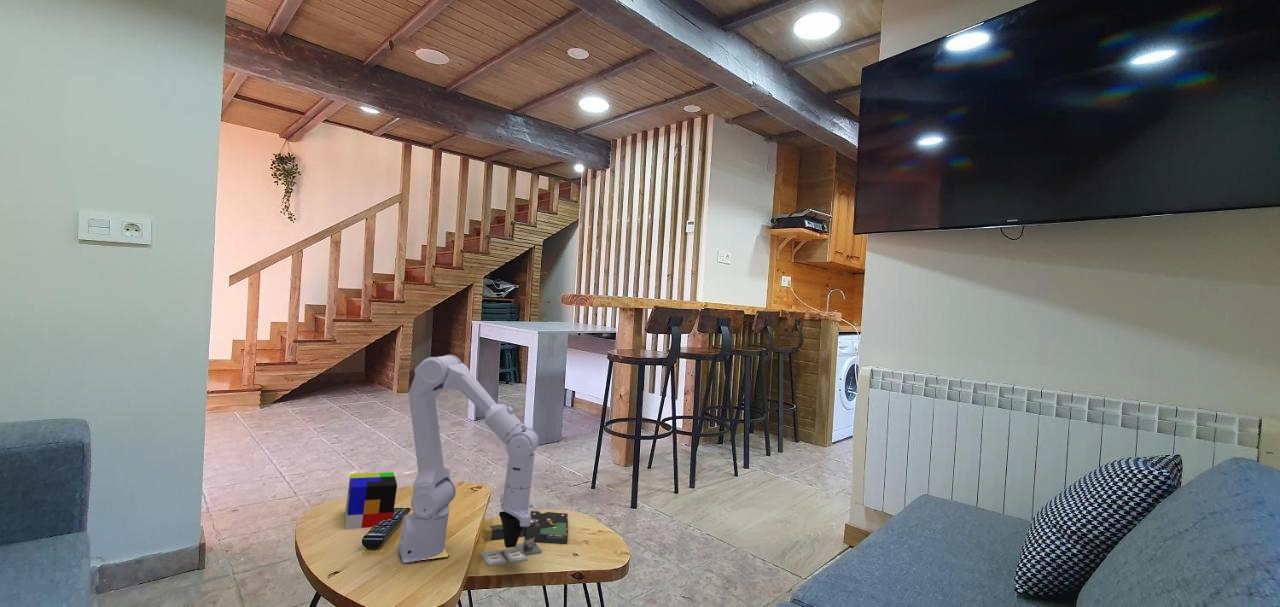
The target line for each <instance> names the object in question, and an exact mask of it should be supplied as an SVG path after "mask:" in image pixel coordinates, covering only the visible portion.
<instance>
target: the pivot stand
mask: <svg viewBox="0 0 1280 607" xmlns="http://www.w3.org/2000/svg"><path fill="white" fill-rule="evenodd" d="M534 523H535V519H531V521H530V525H533V524H534ZM534 538H535V537H528V538H525V537H523V543H517V544H516V546H515V547H514V548H517V549H518V550H519V551H520V553H521V554H524V555H525V556H531V555H537V554H542V553H543V550H542V549H541V548H540V547H539V546H538V545H537V543H535V542H534Z"/></svg>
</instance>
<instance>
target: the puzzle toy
mask: <svg viewBox="0 0 1280 607" xmlns="http://www.w3.org/2000/svg"><path fill="white" fill-rule="evenodd" d="M397 488H398V484H397V479H396V476H395V472H394V471H392V472H391V471H389V472H386V471H385V472H363V473H350V474H349V481H348V488H347V497H346V502H345V508H344V509H345V511H344V521H345V525H344V526H345V528H344V529H345V530H351V529H352V530H353V529H366V528H374V527H373V526H374V525H376V524H377V523H379V522H380V521H383V520H388V519H394V511H395V506H396V505H395V504H396V497H397V490H398V489H397Z"/></svg>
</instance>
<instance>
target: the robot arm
mask: <svg viewBox="0 0 1280 607" xmlns="http://www.w3.org/2000/svg"><path fill="white" fill-rule="evenodd" d="M445 388H446V389H449V390H450V389H451V390H458V391H460V392H461V393H462V394H463V395H464V396H465V397H466V398H467V399H468V400H469V401H470V402H471V403H473V405H474V406H476V407H477V408H478V409H479V410H480V411H481V412H482V413H483V414H484V423H485V424H486V426H487V427H488V428H490V429H491V431H492V432H493V433H494V435H496V436H497V438H499V439H500V441H501V442H502V443H503V444H505V451H506V454H507V455H508V460H507V466H506V472H505V479H504V480H505V482H504V488H503V492H502V493H501V494H500V500H499V502H500V504H501V506H500V509H501V510H502V511H500V512H499V513H498V515H499V517H500V521H501V525H502V526H503V533H504V539H503V541H504V542H503V544H504V546H505V549H510V548H515V546H516V544H518V542H519V539H520V537H519V536H520V533H521V531H522V529H523V528H524V526H530V521H531V516H530V509H532V508H534V503H533V502H532V501H530V496H531V487H532V481H533V472H534V460H535V451H536V450H537V449H538V447H539V444H540V437H539V434H538V433H537V432H536V430H535V429H534V428H531V427H528V425H527V424H526V423H525V422H524V423H522V421H521V420H520V419H519V418H518V417H517V416H516V415H515V414H514V413H513V412H514V408H512V407H511V406H510V405H509V406H507V404H502V403H501V404H500V403H497V402H496V401H495V400H494V399H493V398H492V397H491V395H490V394H489V393H488V392H487V390H486V389H485V388H484V387H483V386H482V385H481V383H480V382H479V380H477V379H476V377H475V376H474V375H473V373H471V371H470V369H469V368H468V366H467V365H466V364H465V363H463V362H461V360H460V358H458V356H456V355H453V354H446V355H445V354H444V355H442V356H429V357H427V358H424V359H423V360H422V361H421V362H420V363H419V364H418V365H417V366H416V367H415V368H414V377H413V379H412V383H411V387H410V388H409V391H408V401H409V408H410V415H411V416H410V418H411V423H412V424H411V425H412V432H413V441H414V448H415V449H414V450H415V456H416V457H415V458H416V465H417V471H418V472H417V474H416V477H415V480H414V482H413V485H412V488H413V489H412V490H413V491H412V492H413V493H412V496H411V500H410V507H411V510H412V513H409V514H405V515H403V517H402V521H401V527H400V536H399V543H398V546H397V548H398V552H399V556H400V558H401V561H402V564H410V562H411V563H415V561H418V560H422V559H428V558H430V557H431V558H432V557H434V556H437V555H439V554H440V553H442V552H443V550H444V546H445V545H446V538H447V530H448V523H449V515H450V514H449V513H450V503H451V502H452V501H453V500H454V499H455V498H456V495H457V494H456V493H457V488H456V485H455V483H454V482H453V480H452V478H451V474H450V470H448V469H447V468H446V467H445V465H444V457H443V449H442V443H441V435H440V425H439V417H438V411H437V402H436V397H437V396H438V395H439V394H440V393H441V392H442V391H443V390H444V389H445ZM445 547H446V546H445ZM418 562H419V561H418Z"/></svg>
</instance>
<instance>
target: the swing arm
mask: <svg viewBox="0 0 1280 607" xmlns="http://www.w3.org/2000/svg"><path fill="white" fill-rule="evenodd" d="M481 531H482V533H481V539H482V540H483V542H484V543H487V542H492V541H500V540H502V541H503V540H504V533H503V526H502V524H495V525H483V526H482V530H481ZM540 531H541V525H540V524H539V523H538V522H537V521H536V520H535V523H534V524H533V525H530V526H524V528H523V529H522V531H521V533H520V536H519V538H524V537H525V538H528V537H536V536H540Z"/></svg>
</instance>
